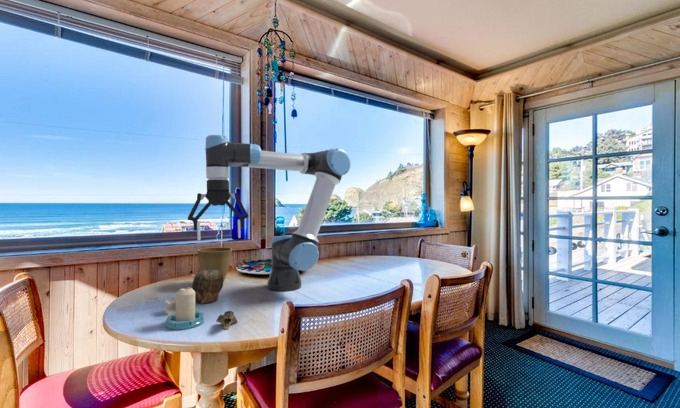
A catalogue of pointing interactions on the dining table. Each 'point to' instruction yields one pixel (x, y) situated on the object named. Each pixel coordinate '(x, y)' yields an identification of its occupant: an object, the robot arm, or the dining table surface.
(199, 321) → the candle dish
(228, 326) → the shark head
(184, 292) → the candle
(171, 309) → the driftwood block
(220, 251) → the plant pot
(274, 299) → the dining table surface
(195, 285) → the brown rough lump
